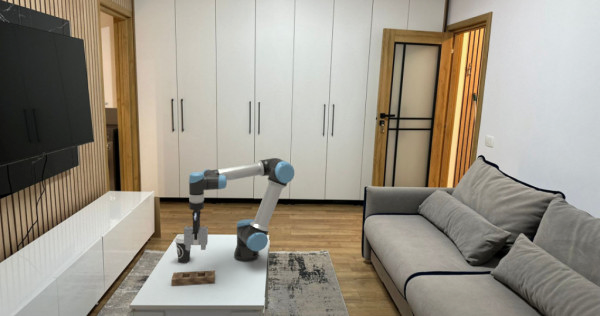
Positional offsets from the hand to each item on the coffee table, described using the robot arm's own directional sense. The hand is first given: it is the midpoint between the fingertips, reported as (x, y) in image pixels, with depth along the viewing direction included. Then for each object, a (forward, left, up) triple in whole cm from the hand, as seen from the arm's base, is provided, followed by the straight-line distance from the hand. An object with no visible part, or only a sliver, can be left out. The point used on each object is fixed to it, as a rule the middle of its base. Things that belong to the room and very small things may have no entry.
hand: (196, 243), depth 216 cm
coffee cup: (+9, -21, -20) cm, 30 cm away
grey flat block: (0, 0, -3) cm, 3 cm away
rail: (+1, +5, -19) cm, 20 cm away
